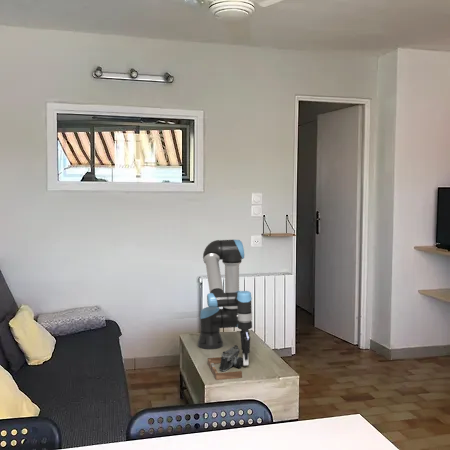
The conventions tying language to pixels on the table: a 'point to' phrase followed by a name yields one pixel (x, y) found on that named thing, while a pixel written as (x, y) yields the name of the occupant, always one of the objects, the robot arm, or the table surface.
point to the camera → (231, 359)
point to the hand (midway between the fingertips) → (245, 364)
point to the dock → (222, 375)
